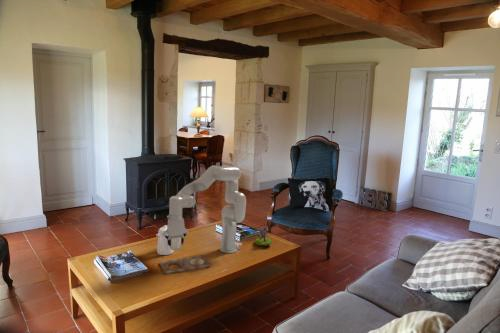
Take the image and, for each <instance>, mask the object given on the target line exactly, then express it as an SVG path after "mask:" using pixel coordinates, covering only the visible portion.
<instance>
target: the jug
mask: <svg viewBox="0 0 500 333" xmlns="http://www.w3.org/2000/svg"><path fill="white" fill-rule="evenodd" d="M170 240H171V246H170V249H171V250H174V251H180V250H181V249H182V244H181V235H179V236H171V238H170Z"/></svg>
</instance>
